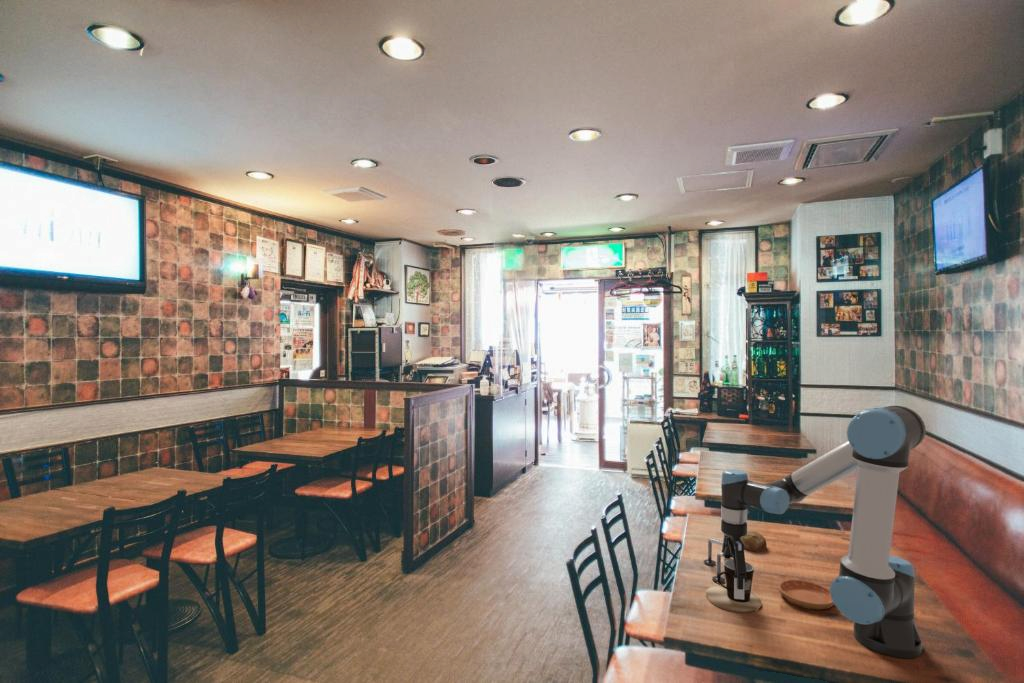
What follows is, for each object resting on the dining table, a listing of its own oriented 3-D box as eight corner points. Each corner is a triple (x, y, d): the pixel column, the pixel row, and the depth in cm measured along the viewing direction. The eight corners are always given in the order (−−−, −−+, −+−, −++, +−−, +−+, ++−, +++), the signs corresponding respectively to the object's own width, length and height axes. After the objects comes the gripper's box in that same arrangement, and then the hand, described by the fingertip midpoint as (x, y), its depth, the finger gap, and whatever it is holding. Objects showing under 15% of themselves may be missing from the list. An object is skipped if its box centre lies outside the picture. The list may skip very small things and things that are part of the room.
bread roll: (736, 552, 215) (729, 534, 214) (755, 538, 217) (749, 521, 216) (754, 561, 205) (747, 544, 204) (774, 547, 208) (767, 530, 207)
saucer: (820, 618, 157) (820, 608, 157) (768, 596, 171) (768, 587, 171) (846, 604, 166) (846, 594, 166) (795, 584, 179) (795, 575, 179)
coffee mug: (748, 591, 171) (748, 560, 171) (757, 605, 163) (758, 572, 163) (710, 589, 173) (710, 558, 172) (718, 602, 164) (718, 570, 164)
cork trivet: (768, 614, 159) (768, 612, 159) (712, 610, 161) (712, 607, 161) (752, 589, 175) (752, 587, 175) (701, 585, 177) (701, 583, 177)
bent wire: (751, 585, 177) (752, 558, 177) (713, 582, 179) (714, 555, 179) (737, 562, 195) (737, 538, 195) (703, 560, 197) (703, 536, 197)
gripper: (758, 535, 155) (758, 609, 155) (736, 508, 179) (735, 571, 180) (731, 534, 156) (730, 606, 156) (712, 507, 181) (712, 570, 181)
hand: (733, 588), depth 168 cm, fingers open, 13 cm apart
